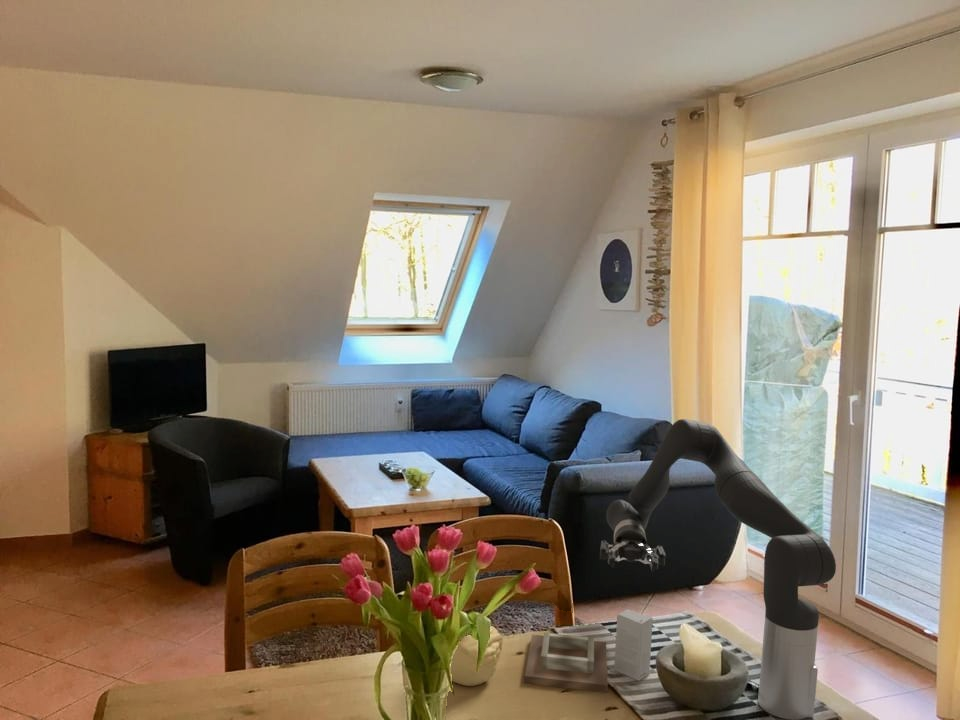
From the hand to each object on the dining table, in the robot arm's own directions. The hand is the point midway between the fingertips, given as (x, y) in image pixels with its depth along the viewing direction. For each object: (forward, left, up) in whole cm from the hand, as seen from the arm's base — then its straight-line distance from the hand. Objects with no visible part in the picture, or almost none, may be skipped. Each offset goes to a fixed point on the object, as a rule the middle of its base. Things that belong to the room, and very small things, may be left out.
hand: (633, 565), depth 168 cm
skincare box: (0, +12, -18) cm, 22 cm away
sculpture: (+32, +21, -18) cm, 43 cm away
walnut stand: (+13, +12, -18) cm, 25 cm away
